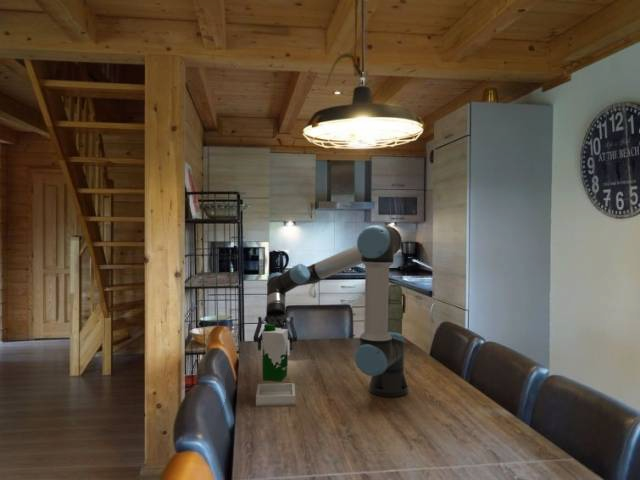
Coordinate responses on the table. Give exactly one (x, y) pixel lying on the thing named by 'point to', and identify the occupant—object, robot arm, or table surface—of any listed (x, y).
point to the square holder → (275, 394)
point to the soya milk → (274, 353)
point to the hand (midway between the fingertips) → (275, 357)
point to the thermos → (395, 308)
